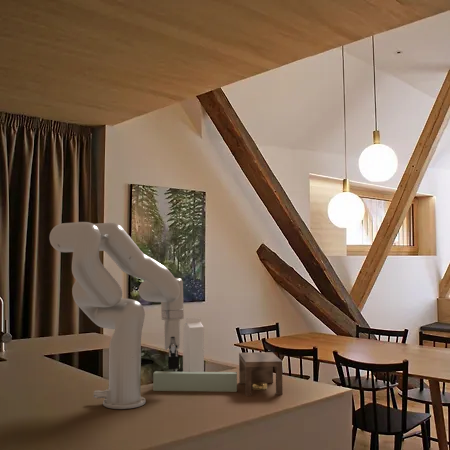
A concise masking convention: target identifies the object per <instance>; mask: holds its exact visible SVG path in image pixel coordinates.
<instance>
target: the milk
mask: <svg viewBox="0 0 450 450" xmlns="http://www.w3.org/2000/svg"><path fill="white" fill-rule="evenodd" d="M201 320H202V318H201V317H188V318H186V319H185V321H186V322H185V323H184V325H183V326H182V346H183V347H182V372H205V326H204V325H203V323H202V321H201Z"/></svg>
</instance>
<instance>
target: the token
mask: <svg viewBox="0 0 450 450" xmlns="http://www.w3.org/2000/svg"><path fill="white" fill-rule="evenodd" d="M254 389H255V390H254ZM265 389H266V390H268V383H263V382H256V383H252V390H254V391H266V390H265Z"/></svg>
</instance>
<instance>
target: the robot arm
mask: <svg viewBox="0 0 450 450" xmlns="http://www.w3.org/2000/svg"><path fill="white" fill-rule="evenodd" d="M49 243H50V245H51V246H52V247H53V249H54V250H55V251H58V252H59V253H72V258H71V273H72V276H73V278H74V279H75V281H74V283H73V284H72V288H71V290H72V291H71V293H72V298H73V301H74V302H75V304H76V305H77V306H78V308H80V310H81V311H82V312H83V313H84V314H85V315H86V316H87V317H88V319H90V321H92V323H94V324H95V325H96V326H98V327H100V328H103V329H109V330H114V331H113V334H112V336H111V338H110V341H109V347H108V348H109V349H108V353H109V354H108V355H109V357H108V361H109V362H108V366H109V367H108V388H107V389H105V390H94V391H93V398H96V399H103V401H102V402H103V403H102V405H103V407H105V408H108V409H114V410H127V409H134V408H135V409H136V408H140V407H142V406H143V405H145V404H146V398H145V397H143V396H141V389H142V388H141V386H142V385H141V383H142V382H141V375H142V373H141V372H142V371H141V369H142V368H141V367H142V366H141V365H142V364H141V363H142V357H141V356H142V333H143V327H144V324H145V323H144V322H145V315H146V314H145V308H144V306H143V304H141V303H140V302H139V301H138V300H135V299H131V298H123V289H122V286H120V284H119V282H118V281H117V280H116V279H115V278H114V277H113V275H112V274H111V272H109V271H108V270H107V268H106V267H105V266H104V265H103V263H102V261H101V259H100V252H104V253H106V254H107V255H108V257H110V258H111V260H112V261H113V262H114V263H115V264H116V265H117V266H118V268H119V269H120V271H122V272H123V273H125V274H126V275H129V276H132V277H134V278H138V279H140V280H143V281H142V282H141V283H140V285H139V286H138V295H139V297H140V298H141V299H142V300H144V301H146V302H151V303H152V302H154V303H160V304H161V305H160V308H161V312H160V313H161V316H160V317H161V320H163V321H164V325H163V326H164V332H163V333H164V335H163V337H164V350H165V351H167V350H168V357H167V359H168V360H167V361H168V369H169V370H177V369H179V349H180V344H181V320H184V314H185V313H184V312H185V311H184V281H183V280H182V278H179V277H175V276H174V274H172V272H171V271H170V270H169V269H168V268H167V266H164V265H163V264H161V263H160V262H158V261H157V260H155V259H154V258H152V257H150V256H148V255H147V254H145V253H144V252H143V251H142V250H141V249H140V248H139V246H138V245H137V243H136V242H135V241H134V240H133V238H132V237H131V236H130V235H129V233H128V232H127V231H126V230H125V229H124V228H123V226H121V225H120V224H119V223H116V222H103V223H102V222H101V223H93V222H89V221H77V222H64V223H62V222H61V223H59V224H56V225H55V226H54V227H53V228H52V229H51V230H50V233H49Z"/></svg>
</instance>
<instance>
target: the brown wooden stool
mask: <svg viewBox="0 0 450 450" xmlns="http://www.w3.org/2000/svg"><path fill="white" fill-rule="evenodd" d="M238 358H239V359H238V364H239V365H238V366H239V367H238V377H239V379H238V380H239V381H238V383H239V384H241V385H242V384H243V383H245V384H244V395H245V396H252V384H253V383H256V382H263V383H267V384H273V383H274V367H275V394H276V395H280V396H283V393H284V392H283V361H282V359H280V358H279V357H278V356H277V355H276V354H275V353H274V352H273V351H266V352H265V351H264V352H262V351H261V352H257V351H256V352H238Z"/></svg>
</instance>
